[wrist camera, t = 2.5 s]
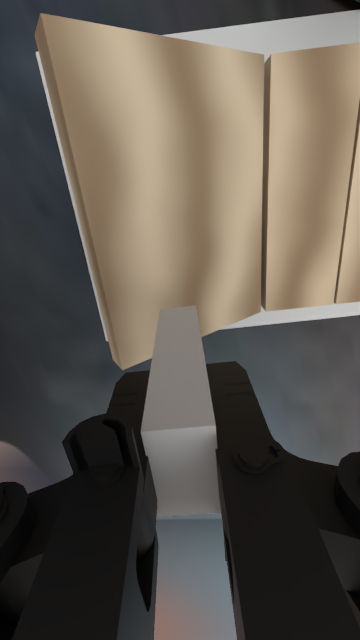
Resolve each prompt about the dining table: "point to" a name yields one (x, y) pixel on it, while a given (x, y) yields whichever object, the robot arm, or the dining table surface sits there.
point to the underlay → (266, 42)
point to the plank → (160, 173)
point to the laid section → (311, 178)
